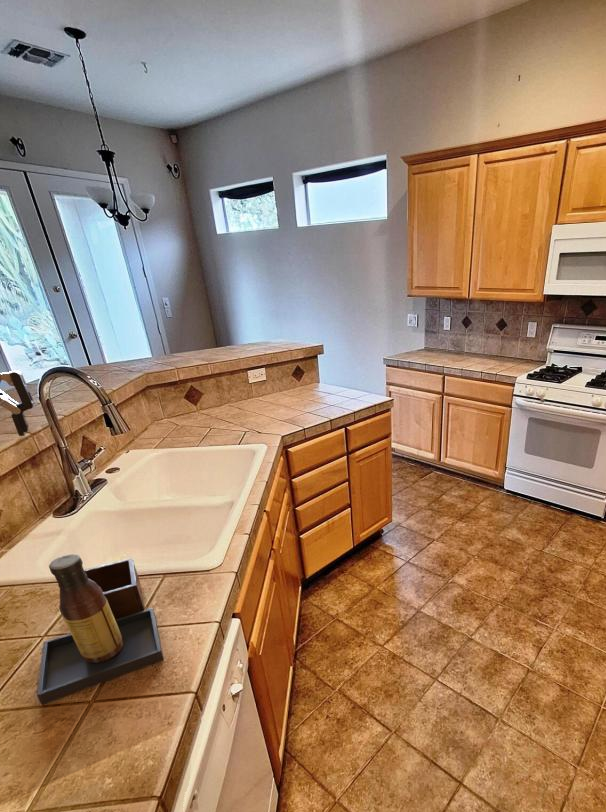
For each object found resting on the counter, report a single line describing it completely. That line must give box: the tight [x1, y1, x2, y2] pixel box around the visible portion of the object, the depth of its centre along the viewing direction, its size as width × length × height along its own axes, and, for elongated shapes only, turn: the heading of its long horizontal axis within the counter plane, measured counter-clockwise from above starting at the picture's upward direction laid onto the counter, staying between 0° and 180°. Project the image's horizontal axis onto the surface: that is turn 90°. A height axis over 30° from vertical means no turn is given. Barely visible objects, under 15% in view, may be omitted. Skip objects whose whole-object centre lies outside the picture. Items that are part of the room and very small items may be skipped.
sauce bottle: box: [48, 553, 123, 663], centre depth 71 cm, size 6×6×20 cm
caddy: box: [84, 557, 146, 619], centre depth 86 cm, size 10×11×7 cm
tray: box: [36, 607, 165, 705], centre depth 75 cm, size 17×13×2 cm
